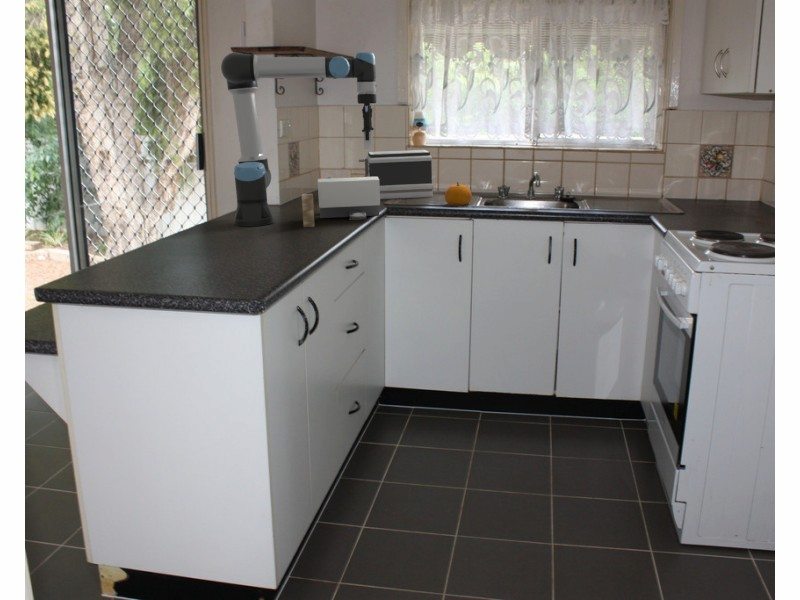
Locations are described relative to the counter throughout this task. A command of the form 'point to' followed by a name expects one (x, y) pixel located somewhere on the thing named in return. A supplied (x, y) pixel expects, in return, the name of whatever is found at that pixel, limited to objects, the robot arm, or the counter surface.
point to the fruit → (458, 195)
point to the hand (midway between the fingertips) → (368, 147)
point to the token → (357, 215)
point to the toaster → (401, 173)
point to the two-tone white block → (348, 196)
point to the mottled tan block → (308, 210)
